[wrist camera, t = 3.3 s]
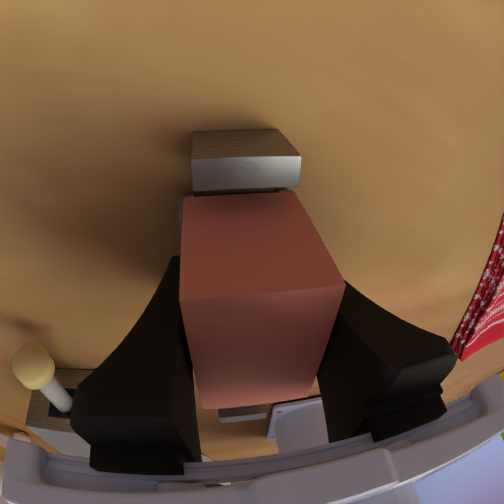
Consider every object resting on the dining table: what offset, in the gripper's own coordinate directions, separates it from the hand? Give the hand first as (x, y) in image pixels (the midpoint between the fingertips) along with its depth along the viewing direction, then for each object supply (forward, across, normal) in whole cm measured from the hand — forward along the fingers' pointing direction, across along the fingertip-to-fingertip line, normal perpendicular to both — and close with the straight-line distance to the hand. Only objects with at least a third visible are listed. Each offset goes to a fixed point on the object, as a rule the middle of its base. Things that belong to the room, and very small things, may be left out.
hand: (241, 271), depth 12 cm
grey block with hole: (+2, +12, +13) cm, 18 cm away
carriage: (+2, 0, 0) cm, 2 cm away
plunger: (+1, +12, +8) cm, 14 cm away
